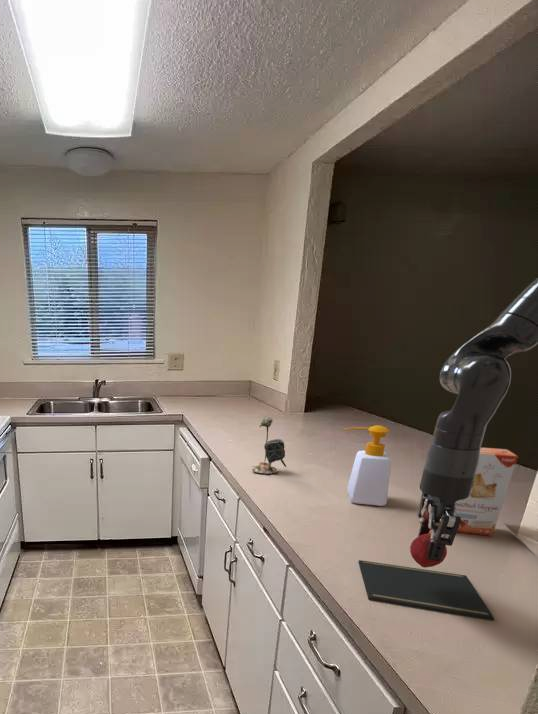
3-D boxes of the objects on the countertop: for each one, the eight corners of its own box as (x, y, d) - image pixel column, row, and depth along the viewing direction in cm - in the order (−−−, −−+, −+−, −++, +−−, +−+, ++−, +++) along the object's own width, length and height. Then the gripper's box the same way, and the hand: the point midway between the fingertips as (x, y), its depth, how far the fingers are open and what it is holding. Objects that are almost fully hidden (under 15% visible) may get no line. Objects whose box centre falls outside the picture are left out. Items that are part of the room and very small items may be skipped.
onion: (444, 578, 81) (454, 540, 78) (408, 571, 83) (417, 534, 80) (438, 563, 86) (448, 526, 83) (405, 556, 88) (413, 521, 85)
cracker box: (427, 529, 109) (447, 450, 102) (420, 519, 114) (439, 443, 107) (494, 537, 105) (519, 455, 98) (483, 526, 110) (507, 447, 103)
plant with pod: (283, 477, 145) (290, 419, 138) (249, 472, 150) (254, 416, 143) (286, 470, 152) (293, 414, 145) (254, 465, 156) (259, 411, 149)
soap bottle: (330, 490, 134) (341, 420, 126) (380, 495, 130) (394, 422, 122) (333, 502, 125) (345, 427, 118) (387, 508, 121) (403, 431, 114)
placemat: (465, 577, 89) (466, 574, 89) (493, 620, 77) (494, 617, 77) (358, 562, 95) (358, 559, 95) (368, 599, 83) (369, 596, 83)
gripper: (491, 485, 70) (464, 574, 76) (460, 458, 82) (439, 536, 88) (437, 480, 72) (415, 567, 78) (415, 455, 85) (397, 531, 91)
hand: (428, 550), depth 83 cm, fingers closed on onion, 6 cm apart
